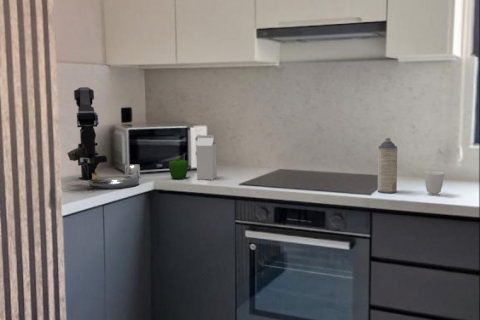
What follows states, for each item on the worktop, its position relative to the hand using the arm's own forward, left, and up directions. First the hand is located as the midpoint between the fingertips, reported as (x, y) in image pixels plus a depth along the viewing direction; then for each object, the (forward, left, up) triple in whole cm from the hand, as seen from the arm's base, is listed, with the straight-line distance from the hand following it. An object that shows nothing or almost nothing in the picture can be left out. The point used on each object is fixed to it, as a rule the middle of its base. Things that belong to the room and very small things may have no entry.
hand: (89, 178), depth 227 cm
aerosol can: (+99, +64, -4) cm, 118 cm away
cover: (-4, +24, -4) cm, 24 cm away
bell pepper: (+12, +37, -4) cm, 39 cm away
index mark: (+4, -2, -3) cm, 6 cm away
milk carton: (+23, +44, -4) cm, 50 cm away
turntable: (+4, +9, -3) cm, 10 cm away
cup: (+114, +70, -4) cm, 134 cm away
